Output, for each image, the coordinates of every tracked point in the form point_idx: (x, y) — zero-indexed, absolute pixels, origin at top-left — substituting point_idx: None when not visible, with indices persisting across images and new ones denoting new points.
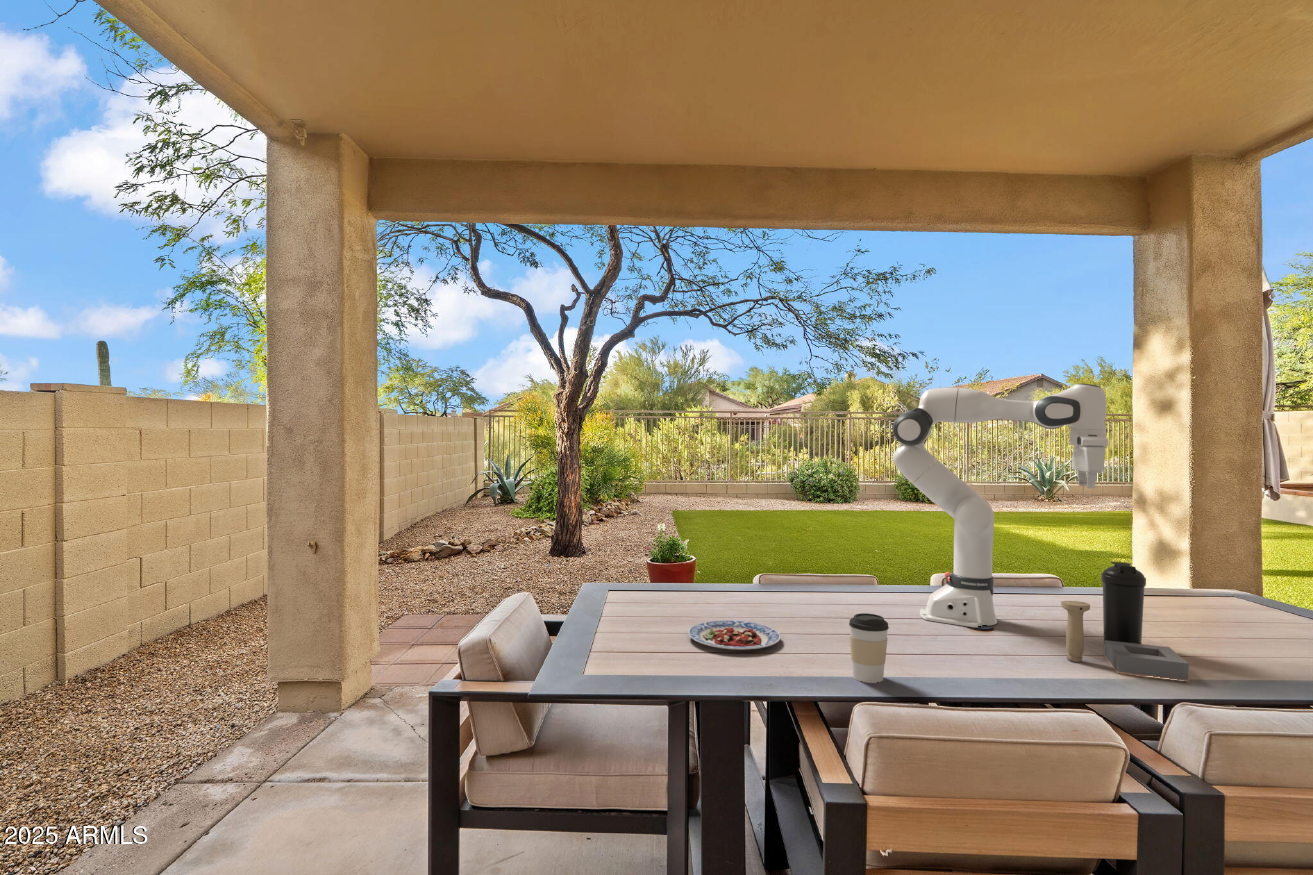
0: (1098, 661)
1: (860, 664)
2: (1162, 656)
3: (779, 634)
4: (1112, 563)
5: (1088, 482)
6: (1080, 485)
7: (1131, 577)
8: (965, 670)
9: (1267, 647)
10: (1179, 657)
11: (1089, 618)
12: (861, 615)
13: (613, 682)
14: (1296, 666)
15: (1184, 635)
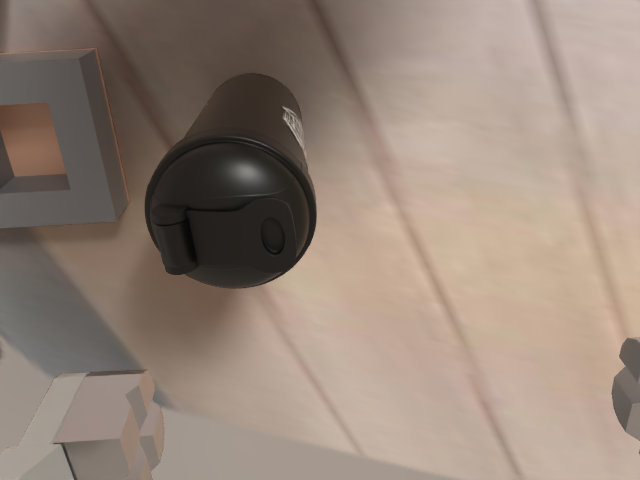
0: (35, 21)
1: None
2: (36, 188)
3: None
4: (251, 201)
5: (20, 450)
6: (623, 344)
7: (154, 235)
8: None
9: (417, 424)
10: (17, 222)
11: (586, 85)
12: None
13: None
14: (279, 428)
15: (460, 298)
